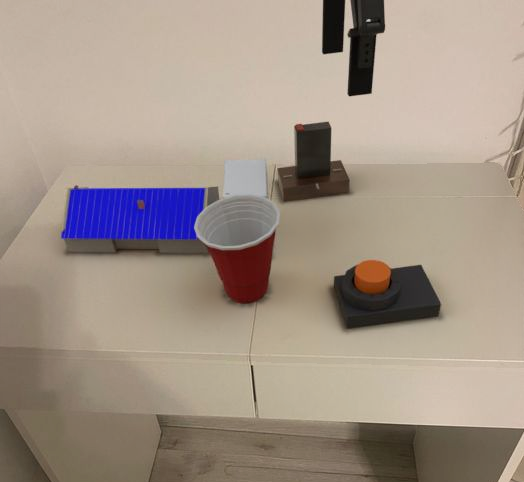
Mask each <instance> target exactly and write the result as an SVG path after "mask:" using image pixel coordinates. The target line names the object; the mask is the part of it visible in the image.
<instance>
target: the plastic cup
mask: <svg viewBox="0 0 524 482" xmlns="http://www.w3.org/2000/svg"><path fill="white" fill-rule="evenodd" d="M280 218H281V211H280V209H279V208H278V205H277V204H276V202H274V201H272V200H270V198H269V199H267V198H265V197H262V196H257V195H252V194H246V195H233V196H230V197H226V198H223V199H222V198H220V200H218V201H216V202H214V203H212V204H211V205H209V206H207V207H206V208H205V209H204V210H203V211H202V212H201V213H200V214H199V215H198V216H197V219H196V222H195V225H194V229H195V232H196V235H197V237H198V239H199V240H201V241H202V242H203V243H204V244H205V246H206V247H207V249H208V251H209V252H208V253H209V254H210V256H211V258H212V262H213V264H214V267H215V270H216V272H217V274H218V277H219V279H220V281H221V282H222V285H223V287H224V290H225V293H226V295H227V296H228V298H229V299H231V301H233V302H235V303H239V304H251V303H255V302H257V301H259V300H261V299H263V298H264V296H265V295H266V294H267V292H268V291H267V290H268V288H269V281H270V275H271V270H272V269H271V268H272V261H273V252H274V245H275V244H274V243H275V237H276V233H277V229H278V228H279V224H280Z"/></svg>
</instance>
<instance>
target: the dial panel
mask: <svg viewBox="0 0 524 482" xmlns="http://www.w3.org/2000/svg"><path fill="white" fill-rule="evenodd" d="M276 172H277V173H276V174H277V183H278V187H279V190H280V194H281V197H282V201H283V202H290V201H298V200H306V199H314V198H321V197H329V196H337V195H344V194H350V181H351V179H350V177H349V175H348V172H347V170H346V168H345V166H344V163H343V162H342V160H341V159H339V160H338V159H337V160H331V166H330V175H323V176H315V177H307V178H299V179H297V176H296V173H295V165H291V166H282V167H277V168H276Z"/></svg>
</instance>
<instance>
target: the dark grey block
mask: <svg viewBox="0 0 524 482" xmlns="http://www.w3.org/2000/svg"><path fill="white" fill-rule="evenodd" d="M293 134H294V166H295V173H296V176H297V179H299V178H307V177H315V176H323V175H330V166H331V161H332V158H331V157H332V126H331V124H330V121H321V122H313V123H306V124H303V123H296V124H295V125H293Z"/></svg>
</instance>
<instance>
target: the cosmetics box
mask: <svg viewBox="0 0 524 482" xmlns="http://www.w3.org/2000/svg"><path fill="white" fill-rule="evenodd" d="M267 166H268V165H267V159H266V158H265V157H263V158H262V157H261V158H240V159H239V158H238V159H237V158H235V159H225V160H224V166H223V167H224V169H223V180H222V181H223V182H222V193H221V199H223V198H226V197H230V196H233V195H246V194H252V195H257V196H262V197H265V198H267V199H269V200H270V197H269V180H268V167H267Z"/></svg>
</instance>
